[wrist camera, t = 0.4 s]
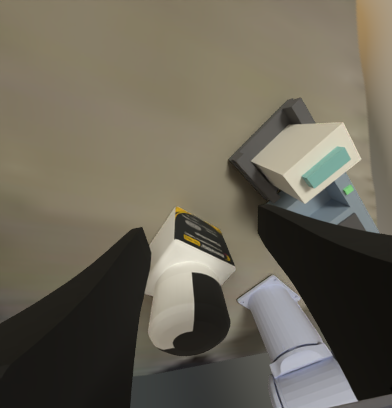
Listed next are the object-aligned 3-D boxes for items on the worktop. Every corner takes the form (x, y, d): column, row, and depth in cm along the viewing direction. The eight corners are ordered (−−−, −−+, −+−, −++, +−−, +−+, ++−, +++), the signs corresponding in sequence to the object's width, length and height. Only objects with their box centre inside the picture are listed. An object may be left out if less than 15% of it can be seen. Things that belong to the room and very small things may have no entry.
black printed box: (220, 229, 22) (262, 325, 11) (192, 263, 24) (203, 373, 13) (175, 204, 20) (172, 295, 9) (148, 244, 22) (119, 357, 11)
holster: (318, 150, 19) (335, 152, 17) (263, 197, 20) (272, 204, 18) (287, 99, 16) (302, 95, 14) (228, 159, 18) (234, 162, 16)
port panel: (356, 221, 24) (381, 234, 21) (304, 257, 26) (320, 273, 23) (318, 159, 19) (343, 164, 16) (258, 210, 21) (271, 222, 18)
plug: (305, 150, 18) (370, 160, 12) (268, 182, 19) (310, 207, 13) (288, 124, 16) (351, 121, 10) (250, 161, 18) (287, 177, 12)
